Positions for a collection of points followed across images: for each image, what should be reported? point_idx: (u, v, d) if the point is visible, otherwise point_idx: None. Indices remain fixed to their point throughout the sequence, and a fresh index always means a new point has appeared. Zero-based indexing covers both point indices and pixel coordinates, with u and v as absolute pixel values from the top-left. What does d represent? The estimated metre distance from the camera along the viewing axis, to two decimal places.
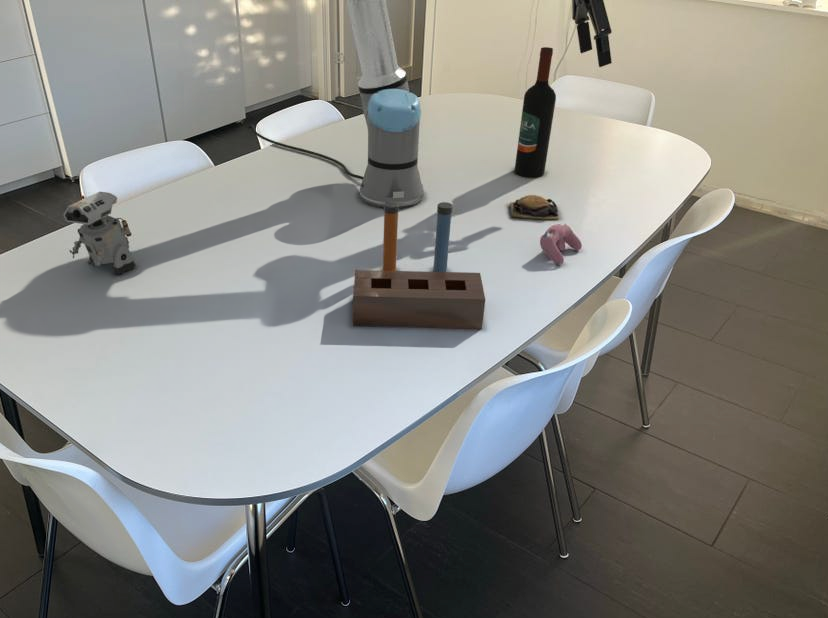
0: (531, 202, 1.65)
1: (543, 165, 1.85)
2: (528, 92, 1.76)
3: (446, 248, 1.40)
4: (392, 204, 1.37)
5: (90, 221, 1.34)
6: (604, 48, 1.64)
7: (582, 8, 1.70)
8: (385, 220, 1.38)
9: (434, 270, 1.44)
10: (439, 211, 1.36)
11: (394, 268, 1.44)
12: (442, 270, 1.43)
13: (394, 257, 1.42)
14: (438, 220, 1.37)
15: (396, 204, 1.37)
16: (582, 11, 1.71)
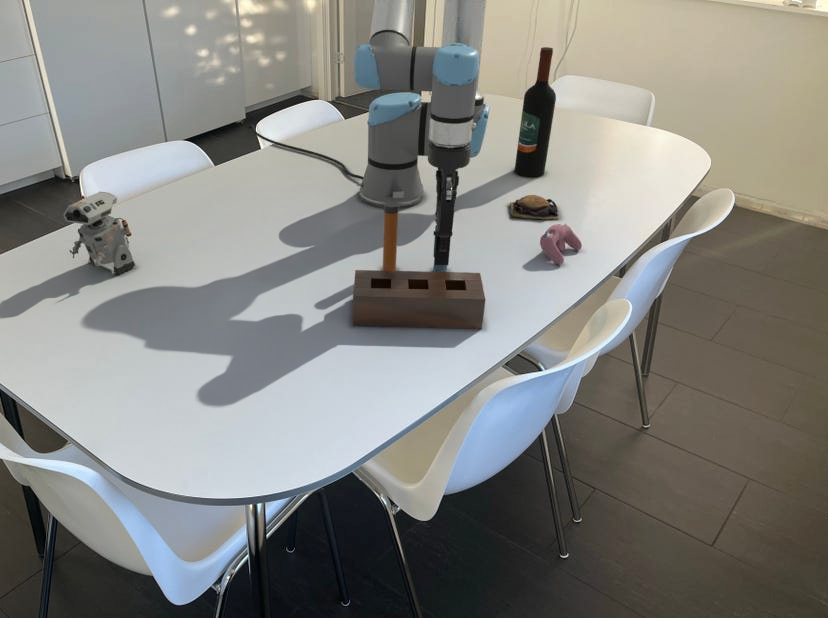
0: (531, 202, 1.65)
1: (543, 165, 1.85)
2: (528, 92, 1.76)
3: None
4: (392, 204, 1.37)
5: (90, 221, 1.34)
6: (443, 248, 1.38)
7: None
8: (385, 220, 1.38)
9: (434, 270, 1.44)
10: None
11: (394, 268, 1.44)
12: (442, 270, 1.43)
13: (394, 257, 1.42)
14: None
15: (396, 204, 1.37)
16: None
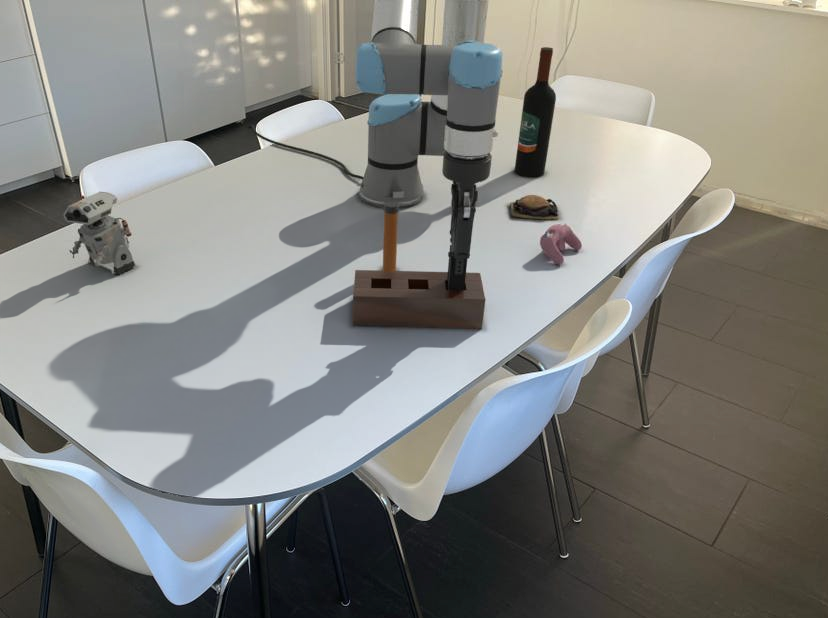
0: (531, 202, 1.65)
1: (543, 165, 1.85)
2: (528, 92, 1.76)
3: None
4: (392, 204, 1.37)
5: (90, 221, 1.34)
6: (458, 270, 1.23)
7: None
8: (385, 220, 1.38)
9: None
10: None
11: (394, 268, 1.44)
12: None
13: (394, 257, 1.42)
14: (453, 239, 1.22)
15: (396, 204, 1.37)
16: None
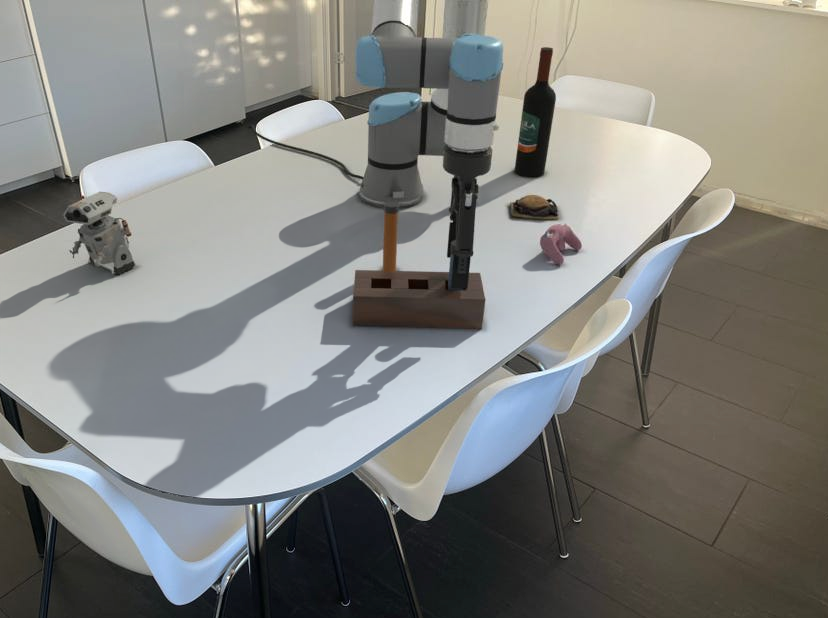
0: (531, 202, 1.65)
1: (543, 165, 1.85)
2: (528, 92, 1.76)
3: (460, 289, 1.27)
4: (392, 204, 1.37)
5: (90, 221, 1.34)
6: (461, 269, 1.18)
7: None
8: (385, 220, 1.38)
9: None
10: (453, 250, 1.23)
11: (394, 268, 1.44)
12: None
13: (394, 257, 1.42)
14: (451, 259, 1.24)
15: (396, 204, 1.37)
16: (458, 206, 1.23)
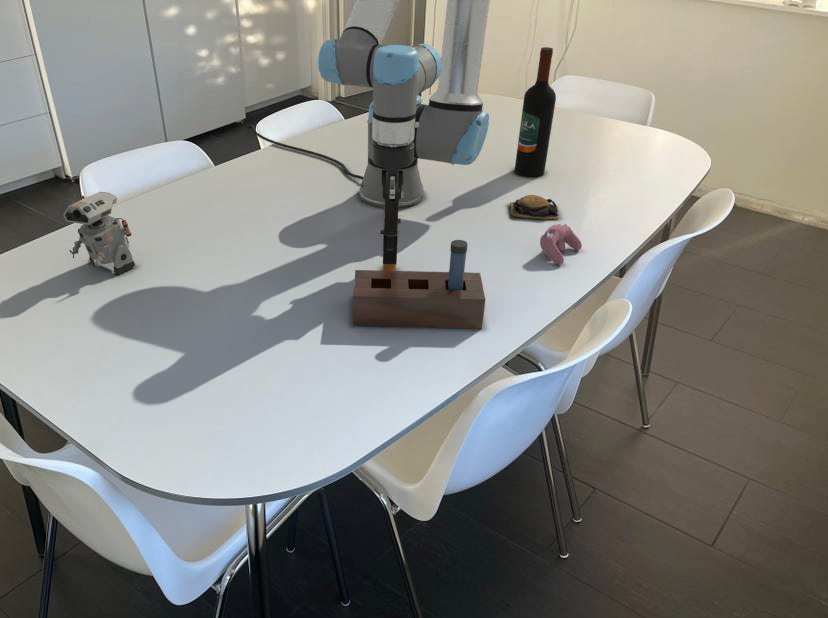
0: (531, 202, 1.65)
1: (543, 165, 1.85)
2: (528, 92, 1.76)
3: (460, 289, 1.27)
4: None
5: (90, 221, 1.34)
6: (390, 247, 1.39)
7: None
8: None
9: None
10: (453, 250, 1.23)
11: (394, 268, 1.44)
12: None
13: None
14: (451, 259, 1.24)
15: None
16: None
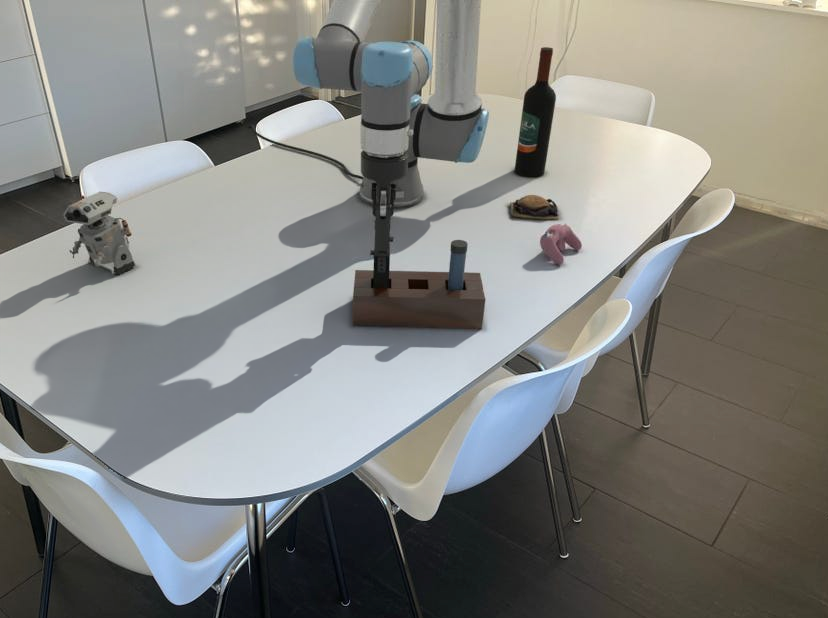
0: (531, 202, 1.65)
1: (543, 165, 1.85)
2: (528, 92, 1.76)
3: (460, 289, 1.27)
4: None
5: (90, 221, 1.34)
6: (381, 269, 1.23)
7: None
8: None
9: None
10: (453, 250, 1.23)
11: None
12: None
13: None
14: (451, 259, 1.24)
15: None
16: None
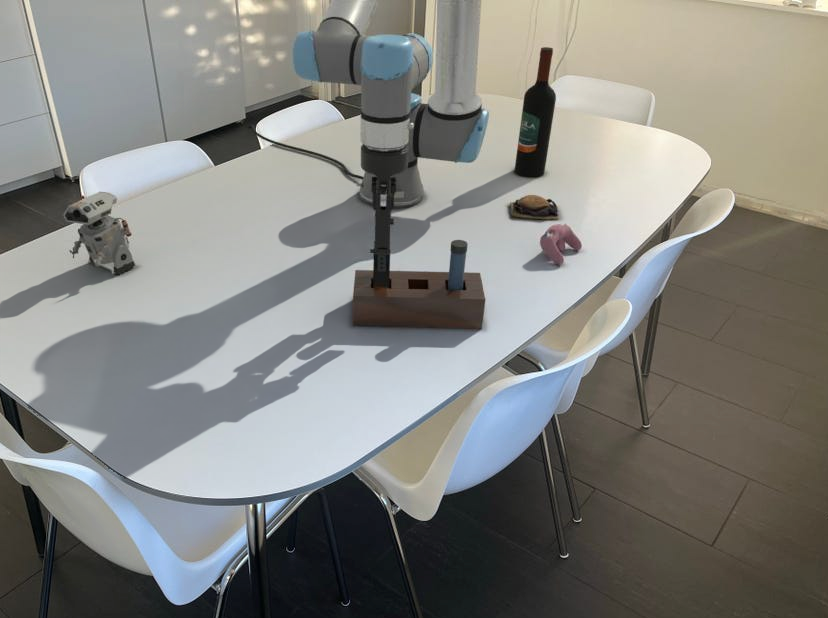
0: (531, 202, 1.65)
1: (543, 165, 1.85)
2: (528, 92, 1.76)
3: (460, 289, 1.27)
4: None
5: (90, 221, 1.34)
6: (381, 267, 1.20)
7: None
8: None
9: None
10: (453, 250, 1.23)
11: None
12: None
13: None
14: (451, 259, 1.24)
15: None
16: None
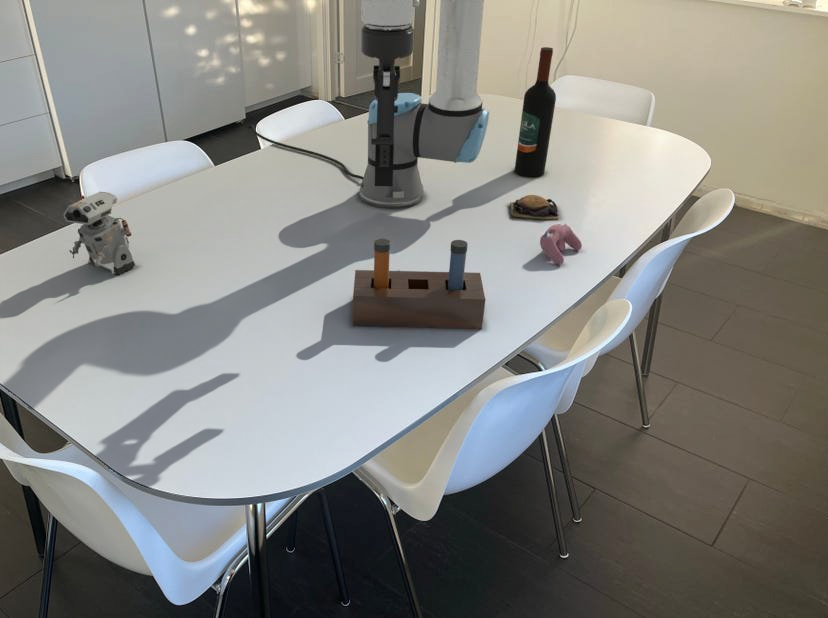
0: (531, 202, 1.65)
1: (543, 165, 1.85)
2: (528, 92, 1.76)
3: (460, 289, 1.27)
4: (383, 242, 1.24)
5: (90, 221, 1.34)
6: (384, 162, 1.07)
7: None
8: (375, 259, 1.25)
9: None
10: (453, 250, 1.23)
11: None
12: None
13: None
14: (451, 259, 1.24)
15: (387, 242, 1.24)
16: None
